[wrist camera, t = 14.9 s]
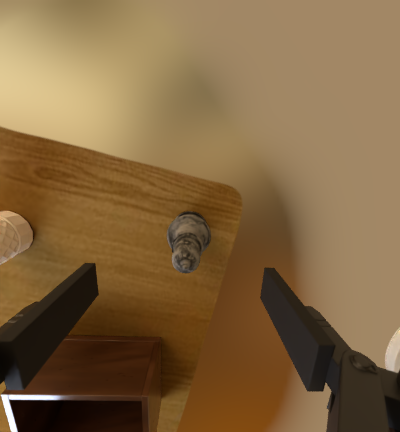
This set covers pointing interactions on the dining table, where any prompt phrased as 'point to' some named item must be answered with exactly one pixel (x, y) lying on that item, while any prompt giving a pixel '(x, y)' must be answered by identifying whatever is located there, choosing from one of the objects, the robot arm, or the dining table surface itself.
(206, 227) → the grey chess piece
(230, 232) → the dining table surface
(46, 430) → the chest
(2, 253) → the white cup
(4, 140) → the dining table surface
